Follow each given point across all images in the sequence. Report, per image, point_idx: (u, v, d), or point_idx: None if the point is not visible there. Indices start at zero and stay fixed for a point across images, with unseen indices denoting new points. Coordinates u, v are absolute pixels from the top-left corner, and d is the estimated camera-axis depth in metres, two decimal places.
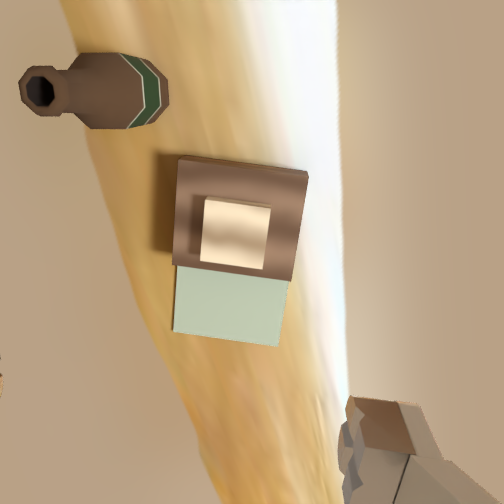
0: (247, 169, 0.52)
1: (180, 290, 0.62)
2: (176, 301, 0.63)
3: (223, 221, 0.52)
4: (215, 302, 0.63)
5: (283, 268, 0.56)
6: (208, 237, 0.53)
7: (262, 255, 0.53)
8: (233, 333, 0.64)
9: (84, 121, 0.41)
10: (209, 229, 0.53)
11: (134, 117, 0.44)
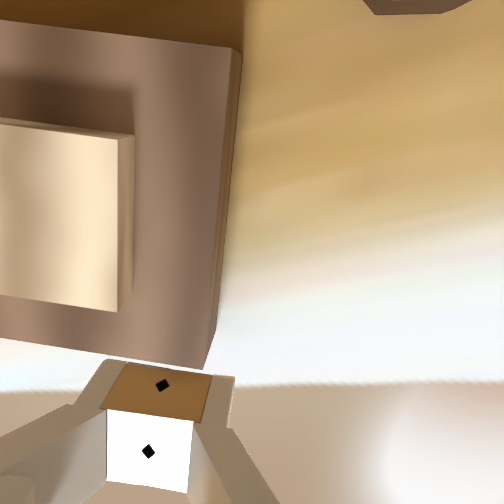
0: (212, 241, 0.21)
1: None
2: None
3: (62, 192, 0.18)
4: None
5: None
6: (7, 145, 0.18)
7: None
8: None
9: None
10: (30, 147, 0.18)
11: None
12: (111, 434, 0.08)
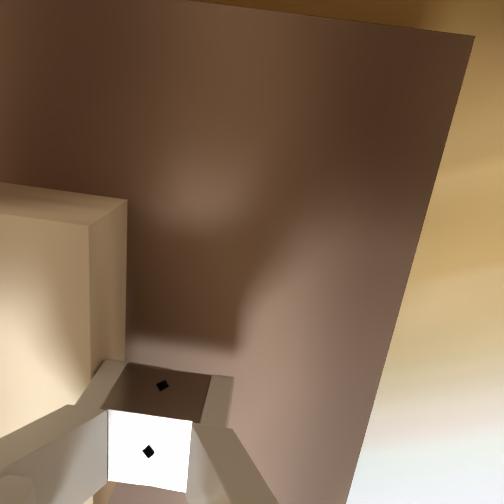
0: (368, 403, 0.11)
1: None
2: None
3: None
4: None
5: None
6: None
7: None
8: None
9: None
10: None
11: None
12: (112, 434, 0.08)
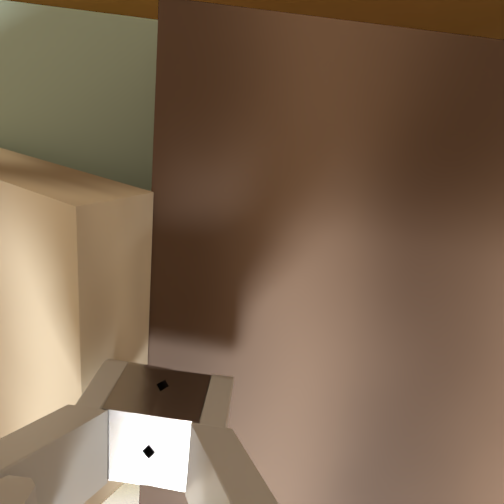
0: None
1: None
2: None
3: (9, 289, 0.10)
4: None
5: None
6: None
7: None
8: None
9: None
10: None
11: None
12: (112, 434, 0.08)
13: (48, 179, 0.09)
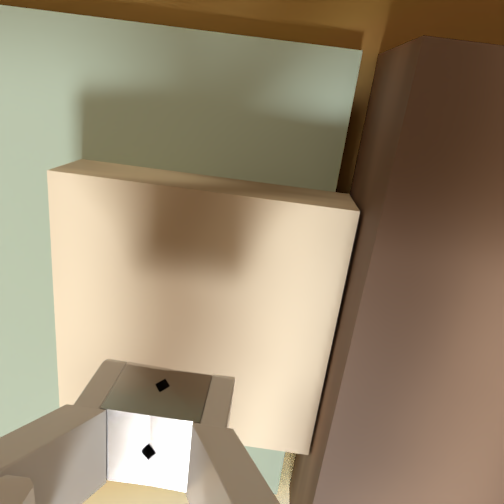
0: None
1: (173, 56, 0.12)
2: (107, 26, 0.11)
3: (252, 289, 0.12)
4: None
5: None
6: (172, 218, 0.11)
7: None
8: None
9: None
10: (210, 221, 0.11)
11: None
12: (111, 434, 0.08)
13: (280, 193, 0.12)
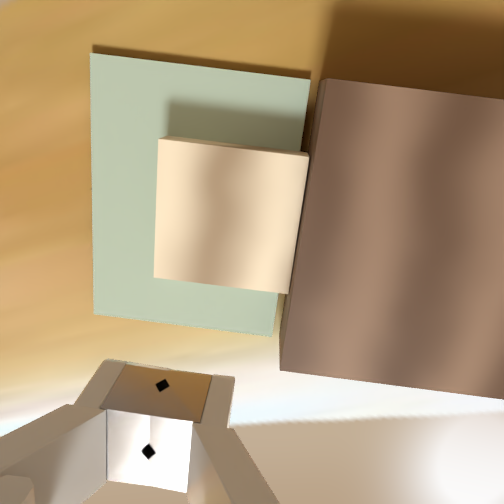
0: None
1: (217, 83, 0.23)
2: (184, 68, 0.23)
3: (257, 198, 0.23)
4: None
5: (313, 356, 0.25)
6: (218, 162, 0.23)
7: (185, 277, 0.25)
8: (111, 218, 0.26)
9: None
10: (237, 163, 0.23)
11: None
12: (111, 434, 0.08)
13: (271, 150, 0.23)
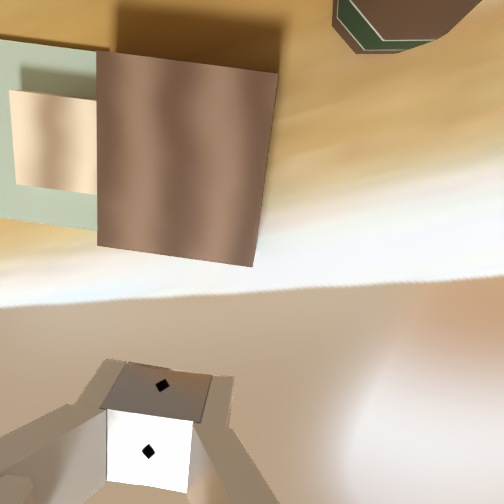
0: (262, 184, 0.35)
1: (49, 55, 0.36)
2: (28, 45, 0.36)
3: (75, 129, 0.36)
4: None
5: (117, 235, 0.38)
6: (47, 105, 0.36)
7: (36, 184, 0.38)
8: None
9: None
10: (59, 106, 0.36)
11: (370, 20, 0.24)
12: (111, 434, 0.08)
13: (83, 98, 0.36)
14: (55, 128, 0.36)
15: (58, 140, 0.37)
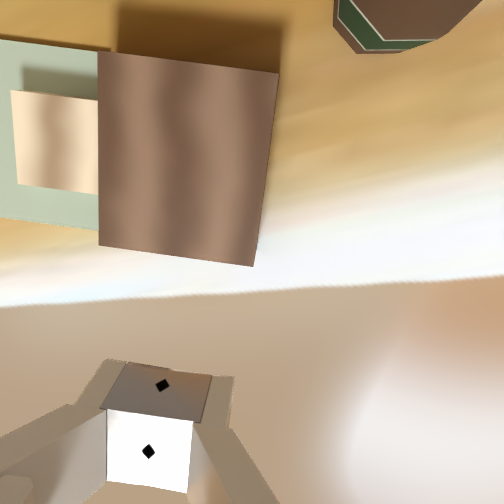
0: (263, 184, 0.35)
1: (51, 55, 0.36)
2: (30, 45, 0.36)
3: (76, 129, 0.36)
4: None
5: (118, 234, 0.38)
6: (49, 105, 0.36)
7: (38, 184, 0.38)
8: None
9: None
10: (60, 106, 0.36)
11: (370, 20, 0.24)
12: (111, 434, 0.08)
13: (85, 98, 0.36)
14: (56, 128, 0.37)
15: (59, 140, 0.37)
